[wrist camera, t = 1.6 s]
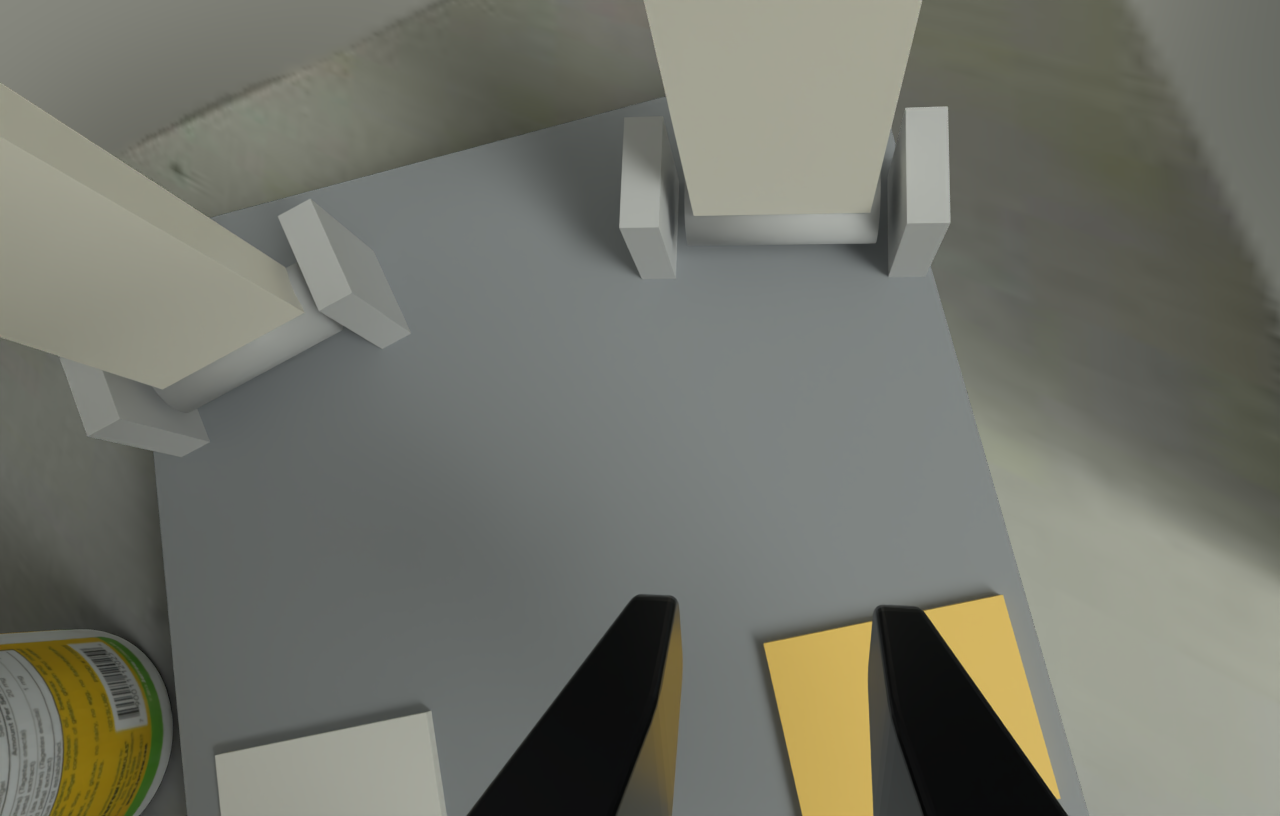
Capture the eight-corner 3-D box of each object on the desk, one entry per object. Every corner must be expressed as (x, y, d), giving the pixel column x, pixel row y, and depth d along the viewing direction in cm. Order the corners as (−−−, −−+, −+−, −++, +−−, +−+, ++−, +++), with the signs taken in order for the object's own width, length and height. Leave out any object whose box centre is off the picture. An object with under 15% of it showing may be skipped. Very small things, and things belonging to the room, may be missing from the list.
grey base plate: (1085, 816, 20) (1186, 891, 15) (254, 964, 22) (100, 1075, 17) (874, 82, 24) (899, -51, 19) (181, 264, 26) (37, 186, 21)
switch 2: (872, 255, 21) (1005, -217, 8) (691, 257, 21) (573, -181, 9) (871, 178, 21) (999, -381, 9) (693, 182, 22) (582, -337, 9)
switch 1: (352, 340, 22) (-170, 36, 10) (205, 418, 22) (-486, 216, 10) (324, 276, 22) (-211, -90, 10) (180, 354, 23) (-513, 84, 11)
